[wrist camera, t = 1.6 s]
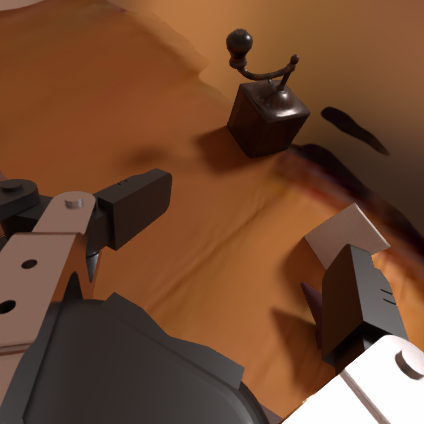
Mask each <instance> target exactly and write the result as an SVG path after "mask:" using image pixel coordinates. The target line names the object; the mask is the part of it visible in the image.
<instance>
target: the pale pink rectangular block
mask: <svg viewBox="0 0 424 424" xmlns="http://www.w3.org/2000/svg"><path fill="white" fill-rule="evenodd" d="M304 238H305V239H306V241H307V242H308V244H309V245H310V247H311V248H312V250H313V251H314V253H315V254H316V256H317V257H318V259H319V260H320V262H321V263H322V265H323V266H324V268H325V269H326V270H327V269H328V267H329V266H330V265H331V263H332V262H333V260H334V259H335V258H336V256H337V255H338V254H339V252H340V251H341V249H342V248H343V247H344V246H345V245H346V244H351V245H353V246H356V247H359V248H361V249H364V250H366V251H369V252H370V254H371V255H373V254H375V253H378V252H380V251H382V250H385V249H387V248H389V247H391V246H390V245H389V244H388V243H387V242H386V240H385V239H384V238H383V237H382V235H381V234H380V233H379V232H378V231H377V229H376V228H375V227H374V226H373V224H372V223H371V222H370V221H369V220H368V218H367V217H366V216H365V215H364V214H363V212H362V211H361V210H360V209H359V207H358V206H357V205H356V204H355V203H354V204H352V205H350V206H349V207H347V208H346V209H344V210H342V211H341V212H339V213H338V214H336V215H334V216H333V217H331V218H329V219H328V220H326V221H325V222H323V223H322V224H320V225H319V226H318V227H316V228H315V229H313V230H312V231H311V232H309V233H308V234H306V235H305V236H304Z"/></svg>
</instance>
